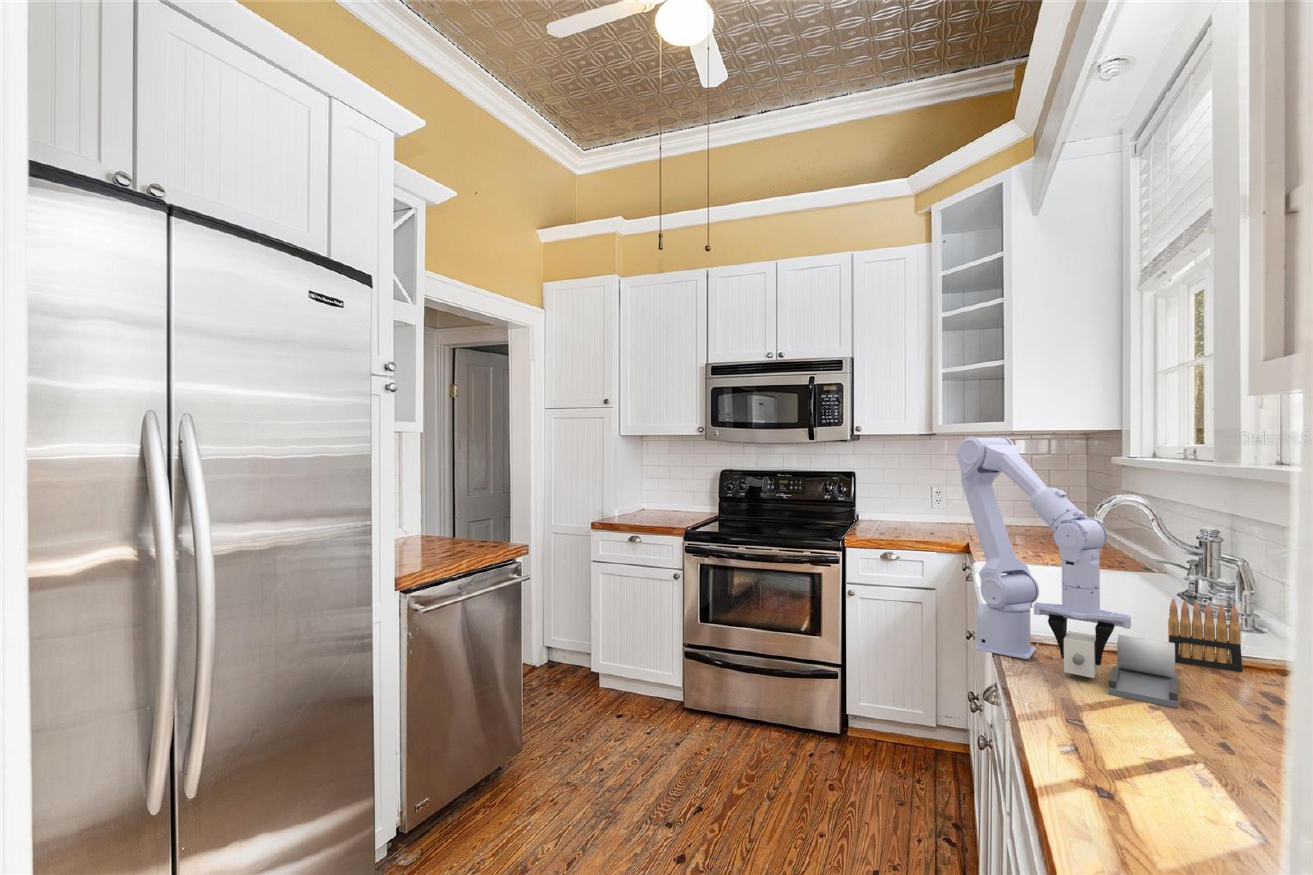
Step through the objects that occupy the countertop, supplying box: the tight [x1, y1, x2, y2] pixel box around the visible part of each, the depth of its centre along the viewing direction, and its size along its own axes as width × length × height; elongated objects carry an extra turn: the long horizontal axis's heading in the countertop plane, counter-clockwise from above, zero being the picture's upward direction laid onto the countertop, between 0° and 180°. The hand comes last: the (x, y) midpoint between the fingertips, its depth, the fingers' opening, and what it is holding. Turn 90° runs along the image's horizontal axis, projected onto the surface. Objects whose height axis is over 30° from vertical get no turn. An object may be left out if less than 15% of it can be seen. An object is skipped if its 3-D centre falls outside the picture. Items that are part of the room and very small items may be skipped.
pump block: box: [1063, 630, 1099, 679], centre depth 115 cm, size 4×7×6 cm, turn 140°
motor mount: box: [1107, 634, 1180, 709], centre depth 110 cm, size 9×16×7 cm, turn 140°
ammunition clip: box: [1167, 598, 1244, 673], centre depth 121 cm, size 11×2×12 cm, turn 55°
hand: (1081, 660), depth 115 cm, fingers closed on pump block, 4 cm apart
